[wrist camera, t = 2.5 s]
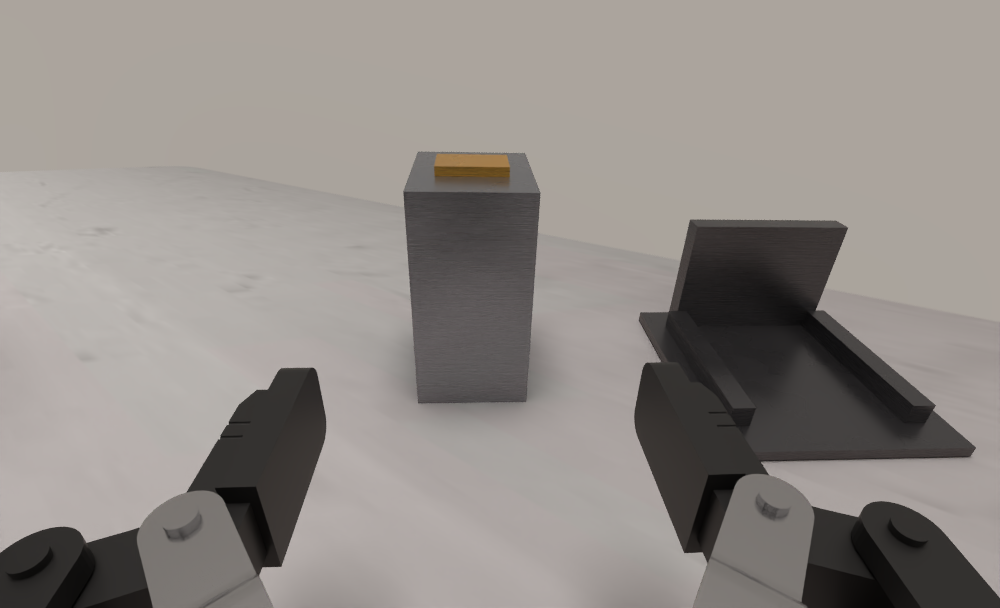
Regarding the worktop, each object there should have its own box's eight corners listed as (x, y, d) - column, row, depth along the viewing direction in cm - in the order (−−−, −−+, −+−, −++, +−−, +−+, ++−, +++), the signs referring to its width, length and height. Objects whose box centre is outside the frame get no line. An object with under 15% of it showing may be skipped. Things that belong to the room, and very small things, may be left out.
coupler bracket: (970, 456, 21) (1059, 326, 18) (716, 461, 21) (762, 328, 17) (816, 319, 31) (856, 217, 28) (639, 319, 30) (659, 216, 27)
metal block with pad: (526, 401, 24) (541, 182, 18) (418, 403, 23) (402, 180, 18) (515, 331, 29) (525, 144, 24) (427, 331, 29) (417, 142, 23)
